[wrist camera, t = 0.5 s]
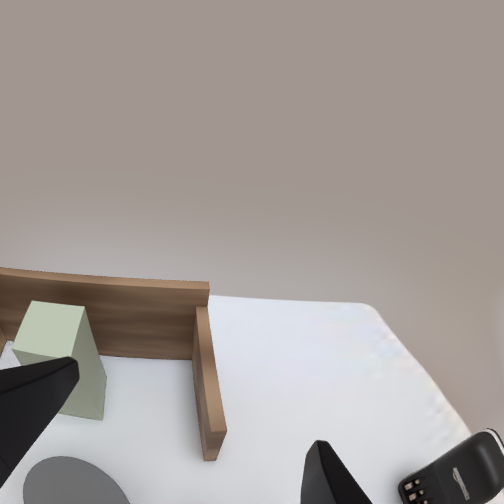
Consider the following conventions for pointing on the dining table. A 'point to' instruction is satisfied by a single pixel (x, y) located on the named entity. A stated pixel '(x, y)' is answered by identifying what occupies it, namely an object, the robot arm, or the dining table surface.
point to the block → (64, 352)
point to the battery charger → (460, 473)
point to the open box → (131, 326)
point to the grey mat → (70, 483)
